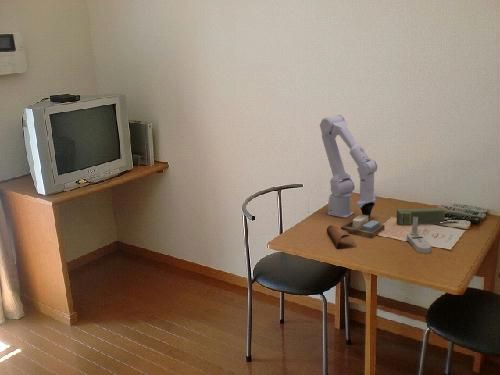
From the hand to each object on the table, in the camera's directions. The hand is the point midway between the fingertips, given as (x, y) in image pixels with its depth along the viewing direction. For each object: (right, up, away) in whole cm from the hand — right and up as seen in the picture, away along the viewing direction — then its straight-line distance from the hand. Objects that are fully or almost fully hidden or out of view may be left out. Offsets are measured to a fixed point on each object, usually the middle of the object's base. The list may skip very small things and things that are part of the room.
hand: (366, 218), depth 233 cm
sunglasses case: (-14, -8, -18) cm, 24 cm away
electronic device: (+14, -9, -26) cm, 31 cm away
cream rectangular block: (-3, -2, -4) cm, 6 cm away
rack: (-3, -4, -9) cm, 10 cm away
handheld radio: (+24, -2, -5) cm, 25 cm away
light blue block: (0, -5, -10) cm, 11 cm away
